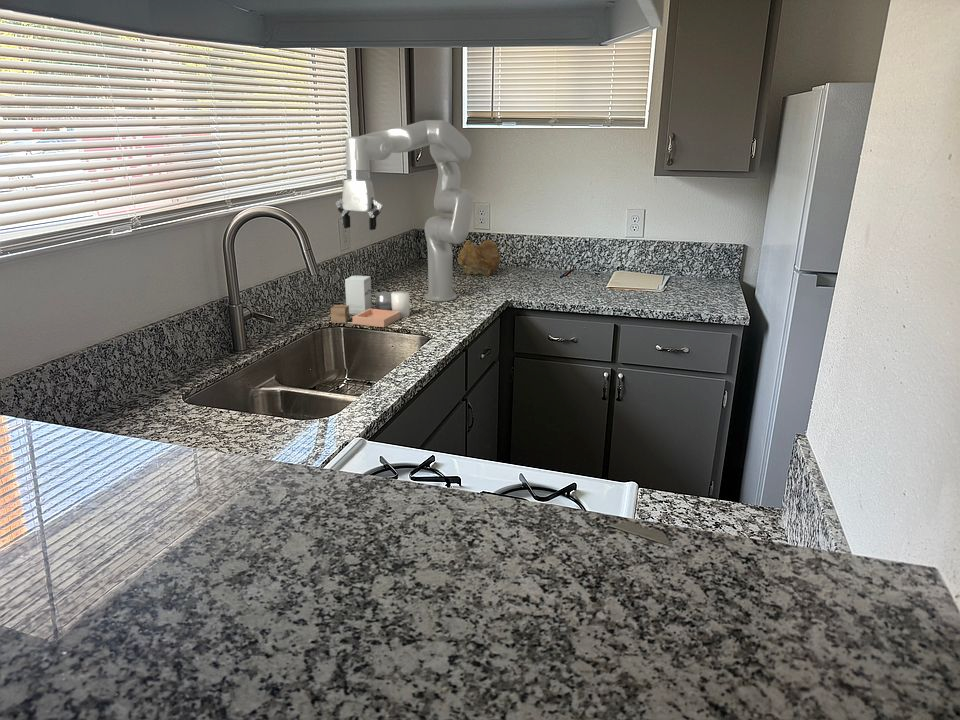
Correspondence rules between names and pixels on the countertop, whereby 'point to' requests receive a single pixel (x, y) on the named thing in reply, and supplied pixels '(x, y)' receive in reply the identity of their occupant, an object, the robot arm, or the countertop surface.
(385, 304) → the grey tin
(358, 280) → the supplement box
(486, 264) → the rough brown rock
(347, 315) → the walnut block
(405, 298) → the white rounded lump
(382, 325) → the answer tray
